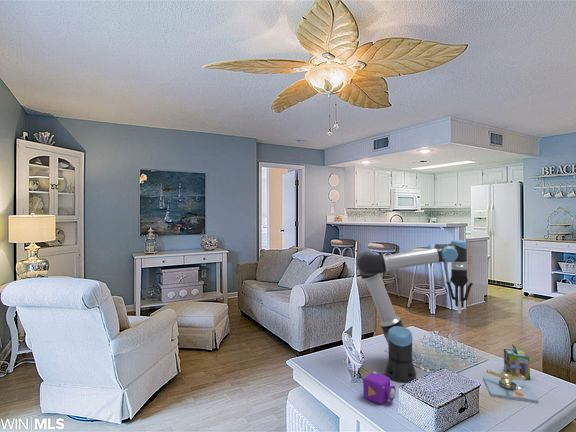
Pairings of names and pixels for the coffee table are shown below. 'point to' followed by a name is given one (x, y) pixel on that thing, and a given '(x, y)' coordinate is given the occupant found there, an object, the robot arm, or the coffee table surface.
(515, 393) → the board
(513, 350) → the chalk box
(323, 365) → the coffee table surface
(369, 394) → the toy camera
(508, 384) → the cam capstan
